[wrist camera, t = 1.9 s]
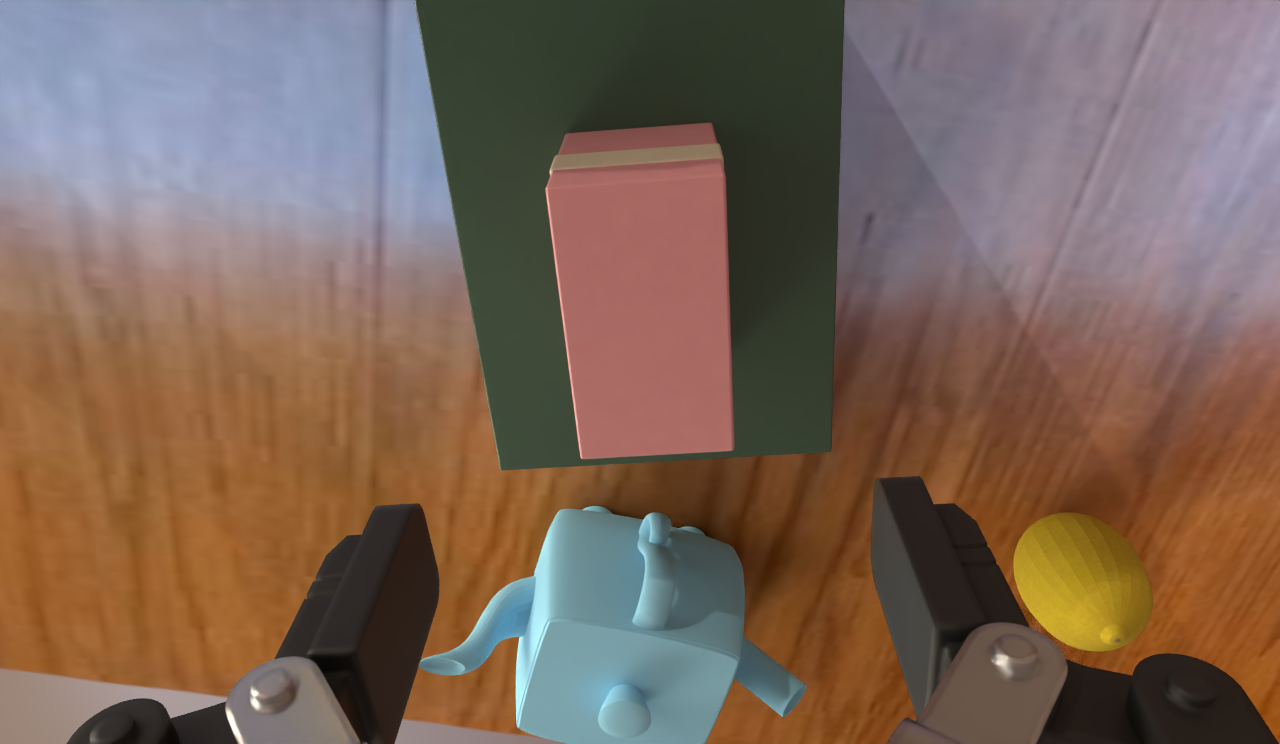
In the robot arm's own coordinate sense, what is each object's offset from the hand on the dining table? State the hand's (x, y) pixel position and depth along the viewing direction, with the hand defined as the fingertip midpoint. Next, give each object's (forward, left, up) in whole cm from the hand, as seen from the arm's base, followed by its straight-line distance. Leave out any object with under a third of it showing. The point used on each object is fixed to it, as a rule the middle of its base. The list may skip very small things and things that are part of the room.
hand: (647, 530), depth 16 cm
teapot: (-3, -22, -24) cm, 33 cm away
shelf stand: (0, 0, -24) cm, 24 cm away
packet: (0, 0, -14) cm, 14 cm away
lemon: (+19, -20, -24) cm, 37 cm away
